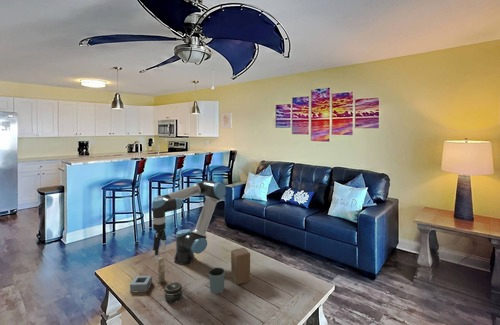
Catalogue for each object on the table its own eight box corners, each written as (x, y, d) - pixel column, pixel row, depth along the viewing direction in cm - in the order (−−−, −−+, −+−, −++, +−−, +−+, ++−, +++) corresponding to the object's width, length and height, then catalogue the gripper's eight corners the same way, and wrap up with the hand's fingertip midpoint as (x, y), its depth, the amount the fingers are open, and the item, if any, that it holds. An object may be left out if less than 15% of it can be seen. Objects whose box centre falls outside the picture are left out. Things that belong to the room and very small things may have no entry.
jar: (168, 292, 165) (168, 281, 164) (184, 293, 164) (184, 281, 163) (161, 303, 155) (161, 290, 154) (178, 304, 154) (178, 291, 153)
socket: (152, 282, 175) (151, 275, 175) (146, 291, 165) (146, 284, 165) (136, 283, 175) (136, 275, 174) (130, 292, 165) (129, 284, 164)
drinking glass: (211, 295, 162) (210, 277, 160) (207, 286, 171) (206, 269, 169) (227, 291, 166) (227, 273, 164) (222, 283, 175) (222, 265, 173)
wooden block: (237, 285, 172) (236, 256, 170) (230, 278, 181) (230, 249, 179) (250, 281, 177) (250, 252, 174) (244, 274, 186) (244, 246, 183)
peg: (165, 279, 179) (164, 257, 177) (163, 283, 175) (163, 260, 173) (159, 280, 178) (158, 257, 176) (157, 283, 174) (156, 260, 172)
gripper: (159, 216, 184) (160, 246, 186) (146, 230, 159) (148, 264, 162) (170, 216, 184) (170, 246, 187) (159, 229, 159) (160, 263, 162)
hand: (160, 254), depth 174 cm, fingers open, 13 cm apart
